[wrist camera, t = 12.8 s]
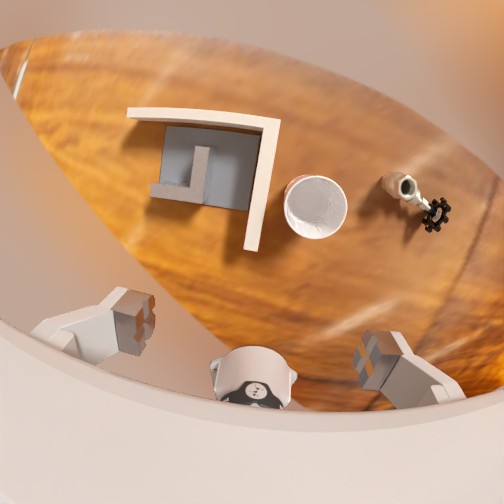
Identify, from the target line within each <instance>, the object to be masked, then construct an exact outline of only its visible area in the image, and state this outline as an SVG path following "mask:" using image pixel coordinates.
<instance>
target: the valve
mask: <svg viewBox="0 0 504 504" xmlns="http://www.w3.org/2000/svg"><path fill="white" fill-rule="evenodd" d="M381 187H382V189H383V190H385V191H386V192H388V193H389V194H390V195H391V196H392V197H394V198H397V199H404V200H405V202H407V203H408V204H409V205H413V204H416V206H418V207H419V208H420V209H422V210H425V213H426V214H427V219H425V218H423V220H422V223H423V224H424V225H425V226H427V225H429V226H428V227H425V230H426V231H427V232H429V233H430V232H432V230H433V229H434V230H435V231H436V232H439V231H440V229H441V227H440V224H441V223H442V222H444V223H447V222H448V220H449V218H448V217H447V216H446V213H447V212H449V211H450V210H451V207H450V206H449V205H448V204H446V203H447V201H446V200H445V199H444V198H443V197H442V198H440V200H441V203H439V202H438V201H437V200H435V199H434V200H433V201H432V204H433V205H432V204H429V205H428V201H427V200H425V199H424V198H423V197H420V191H419V190H418V189H417V182H416V181H415V180H414V179H413V178H411V177H410V176H409V175H405V174H404V173H401V172H389V173H387V174H385V175H384V176H382V186H381ZM445 206H446V207H445ZM437 208H442V215H441V217H440V212H439V211H438V209H437ZM439 217H440V219H439V220H438V221H437V222H434V221H433V220H432V218H433V219H435V220H437V219H438V218H439Z"/></svg>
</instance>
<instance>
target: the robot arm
mask: <svg viewBox="0 0 504 504" xmlns="http://www.w3.org/2000/svg"><path fill="white" fill-rule="evenodd" d="M154 306H155V298H154V296H153V295H150V294H146V293H142V292H138V291H135V290H131V289H127V288H123V287H116V288H115V289H114V290H113V291H112V292H111V293H110V294H109V295H108V296H107V297H106V298H105V299H104V300H103V301H102V302H101V303H100V304H99V305H98V306H96V305H92V306H89V307H86V308H82V309H79V310H75V311H72V312H68V313H65V314H62V315H58V316H55V317H52V318H48V319H44V320H43V321H42V322H41V323H40V324H39V325H38V326H37V327H36V328H35V329H33V331H32V332H31V333H29V334H26V333H25V332H23V331H21V330H19V329H17V328H16V327H14V326H12V325H11V324H9V323H7V322H5V321H4V320H2V319H1V318H0V504H504V388H503V389H500V390H497V391H493V392H490V393H486V394H483V395H479V396H475V397H471V398H466V397H465V395H464V393H463V392H462V390H461V388H460V387H459V385H458V383H457V382H456V381H455V380H453V379H452V378H450V377H449V376H447V375H446V374H444V373H443V372H441V371H440V370H438V369H437V368H435V367H434V366H432V365H431V364H429V363H428V362H426V361H425V360H423V359H422V358H420V357H419V356H417V355H414V354H413V352H412V351H411V349H410V347H409V346H408V344H407V342H406V341H405V339H404V338H403V336H402V334H401V333H400V332H398V331H373V330H366V331H365V332H364V334H363V336H362V338H361V339H362V342H363V343H362V344H361V345H360V346H358V347H357V349H356V351H355V354H354V360H353V361H354V367H355V370H356V371H358V372H359V373H360V374H359V376H358V379H359V382H360V385H361V389H375V390H380V391H381V392H382V393H383V394H384V395H385V396H386V397H387V398H388V400H389V401H390V402H391V403H392V404H393V405H394V406H395V407H396V408H397V409H396V410H384V411H366V412H314V411H295V410H283V409H284V407H285V406H287V404H288V402H290V394H291V386H292V384H293V383H294V382H295V380H296V379H297V373H296V372H295V371H294V370H292V369H291V368H289V366H288V365H287V363H286V361H285V360H284V358H283V357H282V356H281V355H279V354H278V353H277V352H275V351H273V350H271V349H268V348H264V347H259V346H246V347H240V348H237V349H234V350H232V351H230V352H229V353H228V354H226V355H225V356H224V357H222V358H218V359H214V360H212V361H211V362H210V370H211V375H212V380H213V386H214V392H215V395H216V400H212V399H207V398H202V397H197V396H193V395H188V394H184V393H180V392H175V391H171V390H167V389H164V388H160V387H157V386H153V385H150V384H146V383H143V382H139V381H137V380H133V379H130V378H127V377H124V376H121V375H118V374H116V373H113V372H110V371H107V370H105V369H102V368H100V367H97V366H95V365H96V364H98V363H100V362H102V361H104V360H105V359H107V358H109V357H110V356H112V355H114V354H116V353H118V352H119V351H121V352H125V353H128V354H132V355H136V356H140V355H141V353H142V351H143V349H144V348H145V346H146V343H145V340H147V339H149V338H150V337H151V335H152V334H153V330H154V327H155V314H154V313H153V311H152V309H153V308H154Z"/></svg>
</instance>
